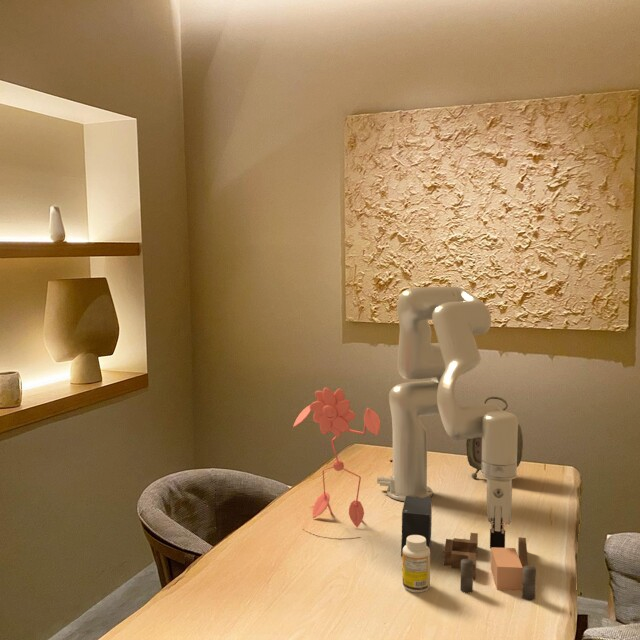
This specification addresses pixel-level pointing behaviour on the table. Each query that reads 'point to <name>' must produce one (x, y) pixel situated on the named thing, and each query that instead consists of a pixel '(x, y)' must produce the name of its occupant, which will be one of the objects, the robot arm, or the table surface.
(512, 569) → the block
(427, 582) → the supplement bottle
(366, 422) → the figurine
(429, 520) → the small box
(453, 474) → the table surface
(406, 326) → the robot arm
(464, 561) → the brown notched pieces
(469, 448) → the tabletop clock
